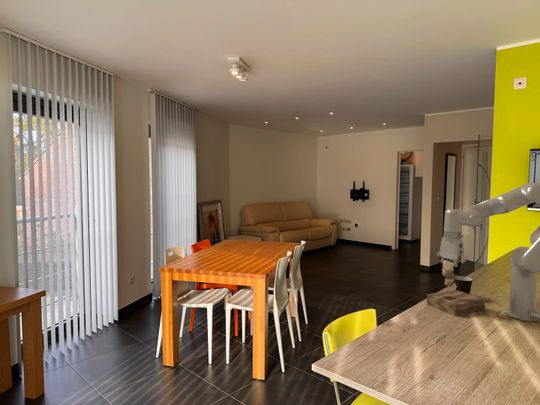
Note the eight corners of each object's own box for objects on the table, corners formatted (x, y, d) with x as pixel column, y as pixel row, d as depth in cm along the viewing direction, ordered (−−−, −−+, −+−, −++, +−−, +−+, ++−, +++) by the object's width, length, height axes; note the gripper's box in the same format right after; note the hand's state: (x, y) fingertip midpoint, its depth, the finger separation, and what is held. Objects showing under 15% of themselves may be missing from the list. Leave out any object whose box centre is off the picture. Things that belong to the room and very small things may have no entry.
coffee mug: (470, 301, 186) (471, 281, 186) (451, 297, 192) (452, 278, 191) (473, 295, 196) (474, 276, 195) (456, 292, 201) (456, 274, 200)
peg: (459, 286, 173) (461, 262, 172) (450, 287, 171) (451, 263, 170) (448, 282, 179) (449, 259, 178) (438, 283, 176) (440, 260, 176)
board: (484, 309, 174) (485, 299, 174) (454, 315, 166) (455, 305, 165) (455, 299, 188) (455, 289, 188) (426, 304, 180) (427, 294, 180)
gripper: (474, 238, 167) (471, 277, 168) (442, 232, 182) (440, 267, 184) (463, 238, 164) (460, 278, 165) (431, 232, 179) (429, 269, 181)
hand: (449, 272), depth 174 cm, fingers closed on peg, 6 cm apart
